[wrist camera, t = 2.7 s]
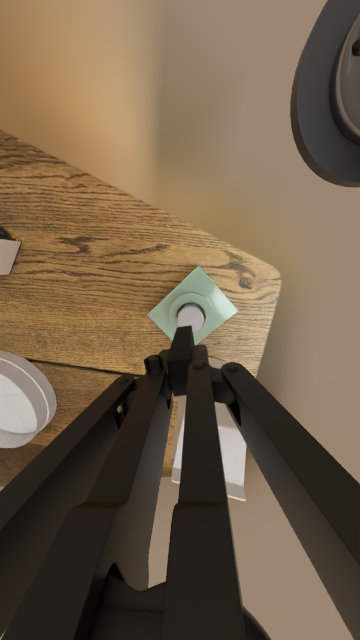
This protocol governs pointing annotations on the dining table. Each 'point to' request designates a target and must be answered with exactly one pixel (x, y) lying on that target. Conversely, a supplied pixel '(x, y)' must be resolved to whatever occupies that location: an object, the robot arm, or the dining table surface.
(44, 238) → the dining table surface
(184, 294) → the push button box
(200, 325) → the grey push button
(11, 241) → the medicine bottle
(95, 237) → the dining table surface
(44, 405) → the dish
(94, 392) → the dining table surface
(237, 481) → the milk carton
